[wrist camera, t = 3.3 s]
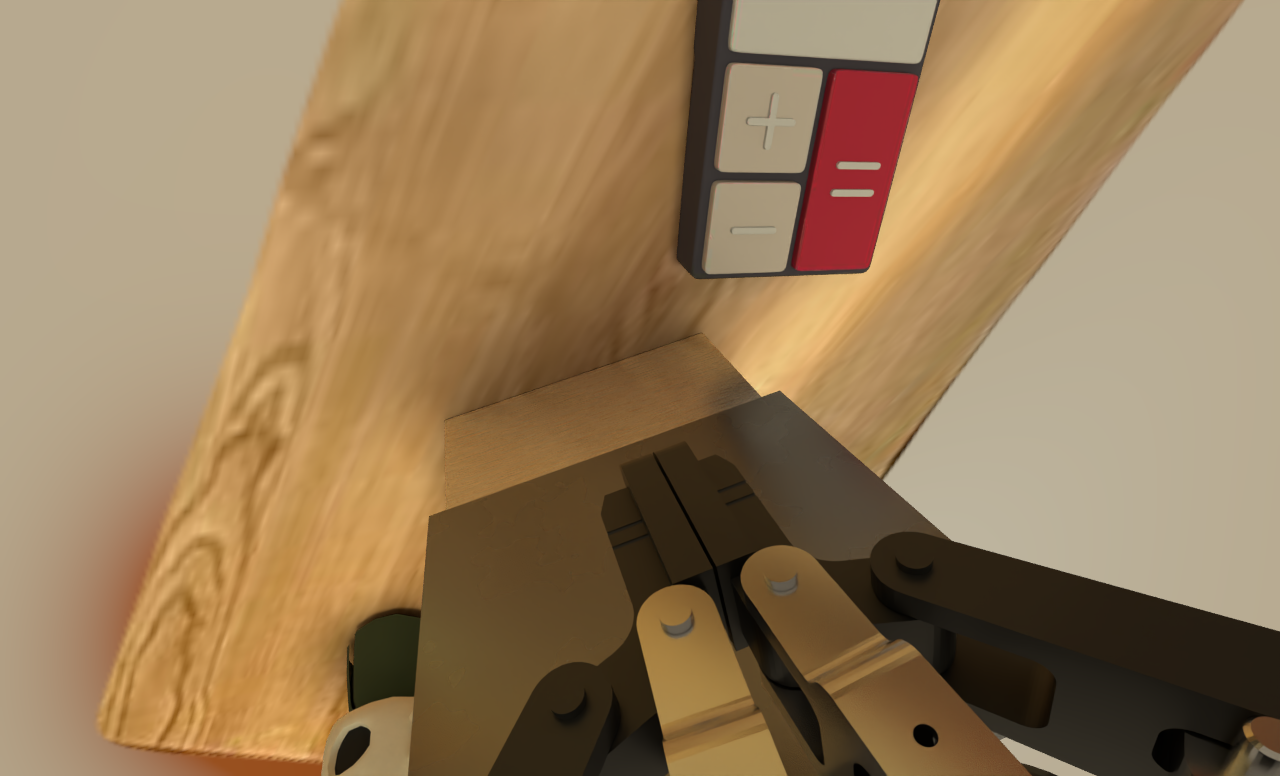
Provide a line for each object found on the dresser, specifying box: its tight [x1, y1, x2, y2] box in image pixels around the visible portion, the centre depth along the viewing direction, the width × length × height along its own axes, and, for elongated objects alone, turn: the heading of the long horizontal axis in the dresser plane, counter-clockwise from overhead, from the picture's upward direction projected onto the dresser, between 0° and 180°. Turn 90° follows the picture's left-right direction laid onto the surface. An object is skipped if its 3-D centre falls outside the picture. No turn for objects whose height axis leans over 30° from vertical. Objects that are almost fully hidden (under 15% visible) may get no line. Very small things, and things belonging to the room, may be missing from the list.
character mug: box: [321, 614, 421, 776], centre depth 37 cm, size 11×7×13 cm, turn 146°
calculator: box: [677, 0, 940, 279], centre depth 32 cm, size 11×4×15 cm
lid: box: [408, 391, 1005, 776], centre depth 21 cm, size 18×17×1 cm
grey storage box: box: [444, 333, 761, 510], centre depth 37 cm, size 16×16×10 cm
